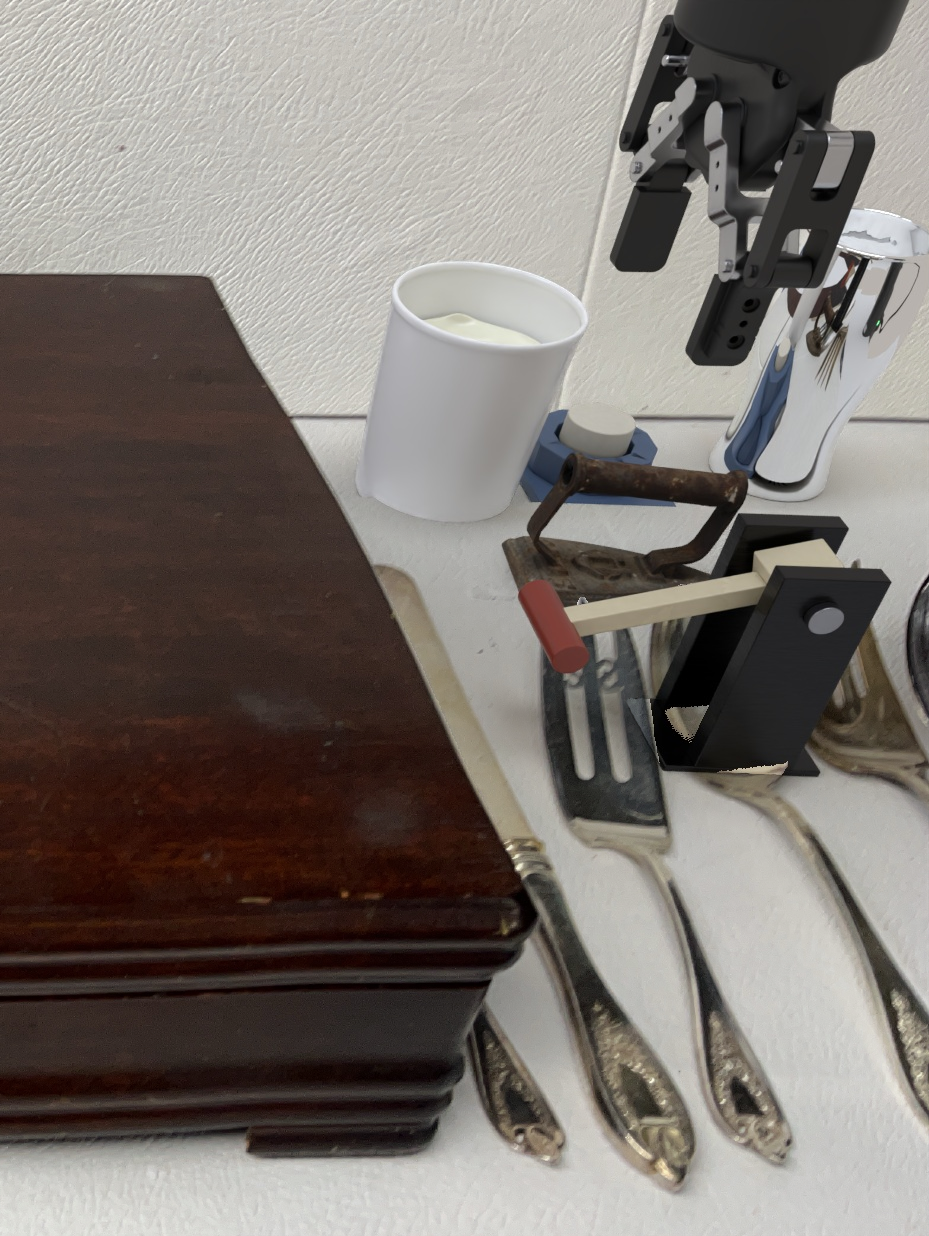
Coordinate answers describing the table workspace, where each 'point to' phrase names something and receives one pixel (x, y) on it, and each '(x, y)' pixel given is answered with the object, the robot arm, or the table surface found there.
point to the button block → (553, 454)
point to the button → (597, 430)
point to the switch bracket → (766, 653)
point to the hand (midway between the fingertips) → (671, 312)
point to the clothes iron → (615, 569)
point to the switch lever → (654, 603)
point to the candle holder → (464, 387)
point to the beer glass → (825, 355)
